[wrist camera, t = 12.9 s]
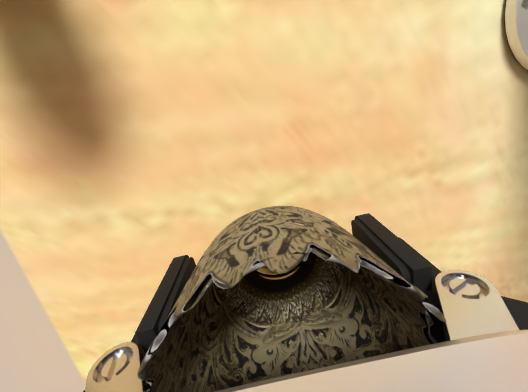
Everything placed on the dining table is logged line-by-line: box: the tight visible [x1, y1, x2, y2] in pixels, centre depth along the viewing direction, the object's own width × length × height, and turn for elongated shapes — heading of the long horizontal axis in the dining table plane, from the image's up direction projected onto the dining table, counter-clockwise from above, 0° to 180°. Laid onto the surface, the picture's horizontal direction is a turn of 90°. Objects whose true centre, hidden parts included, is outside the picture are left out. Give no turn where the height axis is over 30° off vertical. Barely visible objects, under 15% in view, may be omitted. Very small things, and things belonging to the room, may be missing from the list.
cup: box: [137, 206, 446, 392], centre depth 9 cm, size 8×7×8 cm
